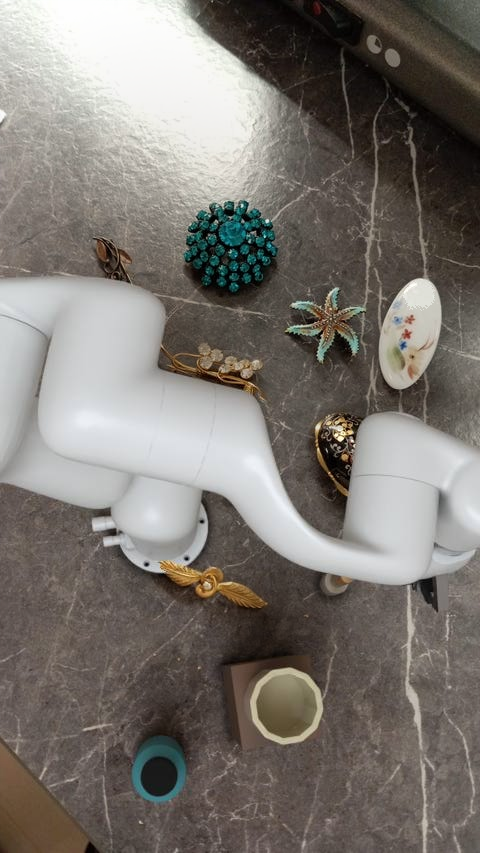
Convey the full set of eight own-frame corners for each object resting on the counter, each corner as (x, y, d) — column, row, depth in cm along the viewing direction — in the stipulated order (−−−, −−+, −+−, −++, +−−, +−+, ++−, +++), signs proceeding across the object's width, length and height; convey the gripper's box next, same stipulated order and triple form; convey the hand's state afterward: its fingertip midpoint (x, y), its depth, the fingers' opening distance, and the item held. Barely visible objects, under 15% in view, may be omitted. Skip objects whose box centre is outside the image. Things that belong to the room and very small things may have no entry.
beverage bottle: (134, 735, 118) (125, 749, 98) (185, 730, 118) (186, 743, 99) (136, 788, 116) (128, 813, 97) (188, 783, 117) (190, 807, 97)
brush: (321, 597, 124) (337, 590, 111) (317, 574, 125) (333, 564, 112) (344, 594, 124) (363, 586, 112) (340, 571, 125) (358, 560, 112)
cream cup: (249, 740, 99) (256, 749, 89) (239, 673, 100) (245, 674, 91) (313, 730, 99) (328, 737, 90) (302, 663, 101) (315, 663, 91)
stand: (231, 735, 119) (242, 750, 98) (221, 665, 121) (230, 666, 100) (298, 724, 119) (323, 737, 99) (287, 655, 122) (309, 653, 101)
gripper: (394, 430, 86) (358, 468, 103) (433, 613, 82) (388, 621, 98) (469, 420, 87) (421, 458, 103) (511, 600, 83) (454, 610, 99)
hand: (405, 537), depth 101 cm, fingers open, 9 cm apart
